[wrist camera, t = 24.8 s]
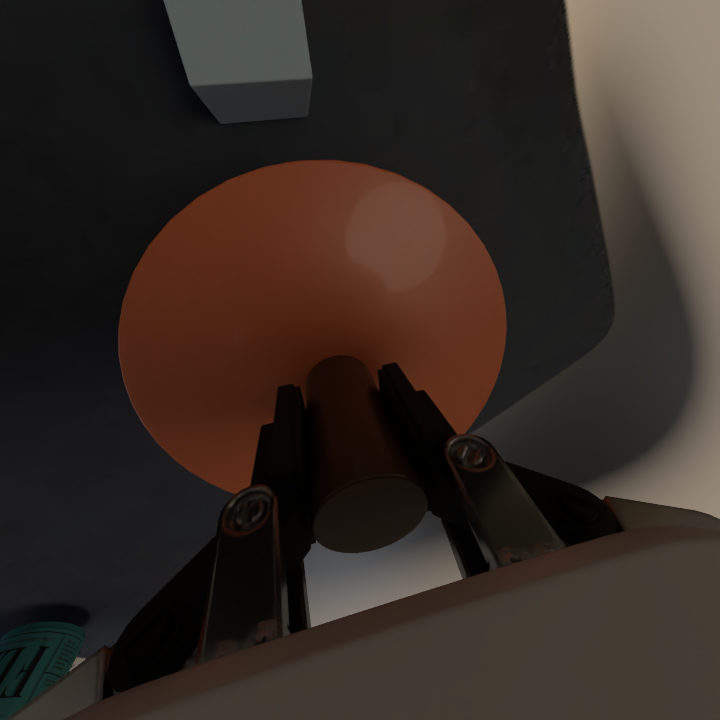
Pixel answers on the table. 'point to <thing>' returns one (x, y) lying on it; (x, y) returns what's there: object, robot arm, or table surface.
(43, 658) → the beverage bottle
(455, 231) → the lid
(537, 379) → the table surface
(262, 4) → the grey cube
